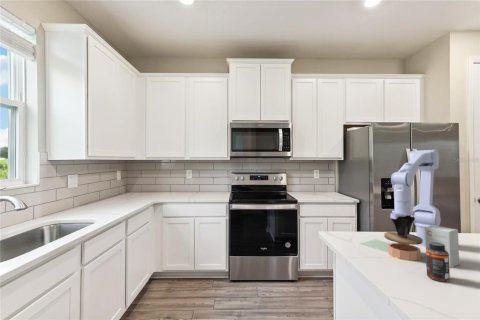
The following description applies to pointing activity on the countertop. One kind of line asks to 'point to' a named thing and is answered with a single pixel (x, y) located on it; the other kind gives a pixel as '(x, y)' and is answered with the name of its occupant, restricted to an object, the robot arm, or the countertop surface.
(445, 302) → the countertop surface
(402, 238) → the lid
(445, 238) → the small box
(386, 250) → the mat
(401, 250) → the bowl
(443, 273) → the supplement bottle
